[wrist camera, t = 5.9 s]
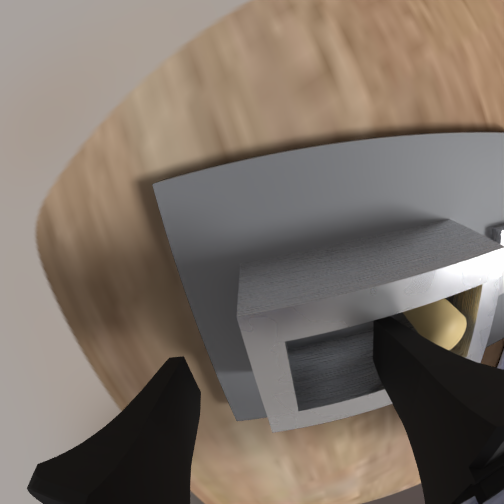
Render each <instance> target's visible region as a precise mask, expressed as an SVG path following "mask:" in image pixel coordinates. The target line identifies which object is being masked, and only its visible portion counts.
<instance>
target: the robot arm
mask: <svg viewBox="0 0 504 504" xmlns="http://www.w3.org/2000/svg"><path fill="white" fill-rule="evenodd" d="M373 362H374V364H375V367H376V370H377V373H378V375H379V378H380V381H381V382H382V384H383V386H384V388H385V390H386V392H387V394H388V396H389V398H390V400H391V402H392V404H393V405H394V407H395V409H396V411H397V413H398V415H399V417H400V419H401V421H402V423H403V425H404V428H405V430H406V432H407V435H408V438H409V441H410V444H411V447H412V450H413V453H414V457H415V460H416V463H417V467H418V471H419V475H420V479H421V483H422V487H423V493H424V498H425V504H504V350H503V353H502V356H501V359H500V361H499V364H498V367H497V368H495V367H491V366H488V365H484V364H481V363H478V362H475V361H472V360H470V359H467V358H465V357H462V356H460V355H457V354H455V353H453V352H451V351H449V350H447V349H445V348H443V347H441V346H439V345H437V344H435V343H433V342H432V341H430V340H428V339H426V338H425V337H423V336H421V335H420V334H418V333H416V332H415V331H413V330H411V329H410V328H408V327H407V326H405V325H403V324H402V323H400V322H399V321H397V320H395V319H394V318H392V317H390V316H388V317H384V318H381V319H377V320H374V321H373ZM200 401H201V392H200V390H199V388H198V386H197V383H196V381H195V379H194V377H193V375H192V373H191V371H190V369H189V367H188V364H187V362H186V360H185V358H184V356H182V357H173V358H169V359H168V360H167V361H166V362H165V363H164V364H163V366H162V367H161V368H160V369H159V370H158V372H157V373H156V374H155V375H154V376H153V378H152V379H151V380H150V381H149V382H148V384H147V385H146V386H145V387H144V388H143V389H142V391H141V392H140V393H139V394H138V395H137V396H136V397H135V398H134V399H133V400H132V401H131V402H130V403H129V405H128V406H127V407H126V408H125V409H124V410H123V411H122V412H121V413H120V414H119V415H118V416H116V417H115V418H114V419H113V420H112V421H111V422H110V423H109V424H107V425H106V426H105V427H104V428H102V429H101V430H100V431H98V432H97V433H96V434H94V435H93V436H91V437H90V438H88V439H87V440H86V441H84V442H83V443H81V444H80V445H78V446H76V447H74V448H73V449H71V450H69V451H67V452H65V453H63V454H61V455H59V456H57V457H54V458H52V459H50V460H47V461H45V462H42V463H40V464H38V465H37V467H36V469H35V471H34V473H33V476H32V478H31V480H30V483H29V485H28V487H27V489H28V491H29V493H30V494H31V495H32V496H34V497H35V498H36V499H37V500H39V501H40V502H42V503H43V504H190V477H191V464H192V457H193V451H194V445H195V440H196V434H197V429H198V423H199V417H200Z"/></svg>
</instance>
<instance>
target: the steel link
mask: <svg viewBox="0 0 504 504" xmlns="http://www.w3.org/2000/svg"><path fill="white" fill-rule="evenodd" d="M503 265H504V246H503V245H501V244H499V243H497V242H495V241H493V240H491V239H489V238H487V237H486V236H484V235H482V234H480V233H478V232H476V231H474V230H472V229H470V228H467V227H465V226H463V225H461V224H459V223H457V222H455V221H453V220H450V219H448V220H444V221H440V222H435V223H431V224H426V225H422V226H417V227H412V228H408V229H403V230H399V231H394V232H390V233H385V234H380V235H376V236H371V237H367V238H362V239H357V240H353V241H348V242H343V243H339V244H334V245H329V246H324V247H320V248H315V249H310V250H306V251H301V252H296V253H291V254H286V255H282V256H277V257H272V258H267V259H262V260H257V261H253V262H248V263H243V264H240V276H239V290H238V304H237V320H238V323H239V327H240V330H241V334H242V337H243V340H244V344H245V347H246V350H247V354H248V357H249V360H250V363H251V367H252V370H253V373H254V376H255V380H256V383H257V386H258V389H259V392H260V395H261V399H262V402H263V405H264V408H265V411H266V414H267V417H268V420H269V423H270V426H271V429H272V432H280V431H286V430H292V429H297V428H303V427H308V426H313V425H317V424H322V423H326V422H331V421H335V420H339V419H343V418H347V417H350V416H354V415H358V414H361V413H365V412H368V411H371V410H374V409H378V408H381V407H384V406H387V405H390V404H392V402H391V400H390V398H389V396H388V394H387V392H386V390H385V388H384V386H383V384H382V382H381V381H380V378H379V375H378V373H377V370H376V367H375V364H374V362H373V329H369V330H366V331H362V332H358V333H354V334H351V335H347V336H343V337H339V338H335V339H330V340H326V341H322V342H318V343H313V344H309V345H304V346H299V347H294V348H289V349H288V347H287V342H286V341H290V340H295V339H300V338H304V337H309V336H314V335H318V334H322V333H327V332H331V331H335V330H339V329H343V328H347V327H351V326H355V325H359V324H363V323H366V322H370V321H374V320H377V319H381V318H384V317H388V316H391V315H394V314H398V313H401V312H404V311H408V310H411V309H414V308H417V307H420V306H423V305H426V304H429V303H432V302H435V301H438V300H441V299H444V298H445V299H447V300H448V301H449V302H450V303H451V304H452V305H453V306H454V307H455V308H456V309H457V310H458V311H459V312H460V313H461V314H462V315H463V316H464V317H465V318H466V322H467V325H466V330H465V332H464V335H463V336H462V338H461V339H460V341H459V342H458V343H457V344H456V345H455V346H454V347H453V348H452V349H450V350H449V351H451V352H453V353H455V354H457V355H460V356H462V357H465V358H467V359H470V360H472V361H475V362H478V363H481V360H482V357H483V354H484V351H485V348H486V344H487V341H488V337H489V334H490V330H491V326H492V322H493V318H494V314H495V309H496V305H497V300H498V295H499V290H500V284H501V278H502V272H503ZM399 322H400V323H402V324H403V325H405V326H407V327H408V328H410V329H411V330H413V331H415V332H416V333H418V332H417V330H416V329H415V328H414V326H413V325H412V324H411V323H410V321H409V320H408V319H407V318H406V319H403V320H400V321H399ZM418 334H419V333H418Z"/></svg>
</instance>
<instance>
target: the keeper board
mask: <svg viewBox="0 0 504 504" xmlns="http://www.w3.org/2000/svg"><path fill="white" fill-rule="evenodd" d="M152 185H153V189H154V192H155V196H156V200H157V203H158V207H159V210H160V214H161V217H162V221H163V224H164V227H165V231H166V234H167V237H168V241H169V244H170V247H171V250H172V253H173V257H174V260H175V263H176V266H177V269H178V272H179V275H180V278H181V281H182V284H183V287H184V290H185V293H186V296H187V298H188V301H189V304H190V307H191V310H192V312H193V315H194V318H195V321H196V323H197V326H198V329H199V331H200V334H201V337H202V339H203V342H204V344H205V347H206V350H207V352H208V355H209V357H210V360H211V362H212V365H213V367H214V370H215V372H216V374H217V377H218V379H219V382H220V384H221V386H222V389H223V391H224V393H225V396H226V398H227V400H228V403H229V405H230V407H231V409H232V412H233V414H234V416H235V418H236V421H243V420H251V419H259V418H266V417H267V414H266V411H265V408H264V405H263V402H262V399H261V395H260V392H259V389H258V386H257V383H256V380H255V376H254V373H253V370H252V367H251V363H250V360H249V357H248V354H247V350H246V347H245V344H244V340H243V337H242V334H241V330H240V327H239V323H238V320H237V304H238V290H239V276H240V264H243V263H248V262H253V261H257V260H262V259H267V258H272V257H277V256H282V255H286V254H291V253H296V252H301V251H306V250H310V249H315V248H320V247H324V246H329V245H334V244H339V243H343V242H348V241H353V240H357V239H362V238H367V237H371V236H376V235H380V234H385V233H390V232H394V231H399V230H403V229H408V228H412V227H417V226H422V225H426V224H431V223H435V222H440V221H444V220H448V219H450V220H453V221H455V222H457V223H459V224H461V225H463V226H465V227H467V228H470V229H472V230H474V231H476V232H478V233H480V234H482V235H484V236H486V237H487V238H489V239H491V240H492V227H494V226H498V225H501V224H504V132H445V133H425V134H410V135H398V136H387V137H377V138H368V139H360V140H352V141H344V142H337V143H330V144H323V145H317V146H311V147H305V148H299V149H293V150H288V151H282V152H277V153H272V154H267V155H262V156H257V157H252V158H248V159H243V160H239V161H234V162H230V163H226V164H221V165H217V166H213V167H209V168H205V169H201V170H197V171H194V172H190V173H186V174H182V175H179V176H175V177H171V178H168V179H164V180H162V181H159V182H156V183H154V184H152ZM390 317H392V318H394V319H395V320H397V321H400V320H403V319H406V318H407V319H408V320H409V321H410V323H411V324H412V325H413V326H414V328H415V329H416V330H417V332H418V333H419V334H420V335H421V336H423V337H425V338H426V339H428V340H430V341H432V342H433V343H435V344H437V345H439V346H441V347H443V348H445V349H447V350H450V349H452V348H453V347H454V346H455V345H456V344H457V343H458V342H459V341H460V339H461V338H462V336H463V335H464V332H465V330H466V325H467V322H466V318H465V317H464V316H463V315H462V314H461V313H460V312H459V311H458V310H457V309H456V308H455V307H454V306H453V305H452V304H451V303H450V302H449V301H448V300H447V299H445V298H444V299H441V300H438V301H435V302H432V303H429V304H426V305H423V306H420V307H417V308H414V309H411V310H408V311H404V312H401V313H398V314H394V315H391V316H390ZM369 329H373V321H370V322H366V323H363V324H359V325H355V326H351V327H347V328H343V329H339V330H335V331H331V332H327V333H322V334H318V335H314V336H309V337H304V338H300V339H295V340H290V341H286V342H287V347H288V349H289V348H294V347H299V346H304V345H309V344H313V343H318V342H322V341H326V340H330V339H335V338H339V337H343V336H347V335H351V334H354V333H358V332H362V331H366V330H369ZM503 338H504V293H503V294H501V295H499V296H498V300H497V305H496V309H495V314H494V318H493V322H492V326H491V330H490V334H489V337H488V341H487V344H486V347H488V346H490V345H492V344H494V343H495V342H497V341H499V340H501V339H503Z"/></svg>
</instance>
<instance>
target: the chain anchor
mask: <svg viewBox="0 0 504 504" xmlns="http://www.w3.org/2000/svg"><path fill="white" fill-rule="evenodd" d="M492 240H493V241H495V242H497V243H499V244H501V245H503V246H504V224H501V225H498V226H494V227H492ZM503 293H504V265H503V272H502V278H501V284H500V290H499V295H501V294H503ZM499 295H498V296H499Z"/></svg>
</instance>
